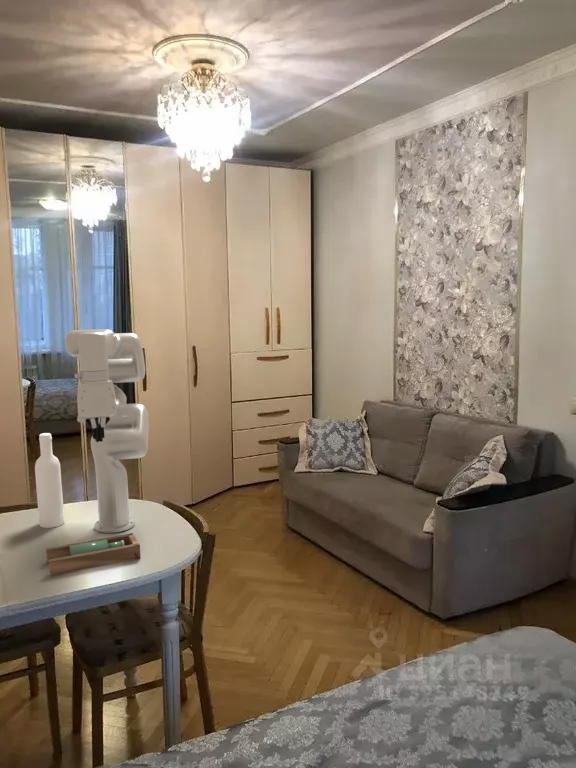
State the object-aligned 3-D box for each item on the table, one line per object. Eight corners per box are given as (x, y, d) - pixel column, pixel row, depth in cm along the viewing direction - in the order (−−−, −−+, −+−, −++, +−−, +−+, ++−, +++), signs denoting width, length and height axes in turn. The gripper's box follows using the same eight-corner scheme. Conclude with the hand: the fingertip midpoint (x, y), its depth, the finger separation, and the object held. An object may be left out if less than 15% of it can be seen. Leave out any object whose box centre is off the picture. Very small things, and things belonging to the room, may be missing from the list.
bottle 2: (68, 546, 179) (121, 536, 185) (70, 564, 178) (123, 554, 184) (70, 545, 175) (124, 535, 181) (72, 564, 173) (126, 553, 180)
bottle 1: (56, 517, 213) (50, 430, 208) (69, 522, 208) (63, 433, 203) (34, 524, 207) (26, 434, 202) (47, 530, 202) (39, 438, 197)
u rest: (47, 561, 178) (46, 548, 177) (133, 545, 188) (132, 533, 187) (50, 576, 169) (49, 561, 168) (140, 558, 179) (139, 545, 178)
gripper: (67, 380, 169) (72, 447, 172) (124, 376, 176) (128, 440, 178) (64, 376, 176) (69, 441, 179) (119, 373, 182) (123, 435, 185)
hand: (98, 440), depth 179 cm, fingers closed
